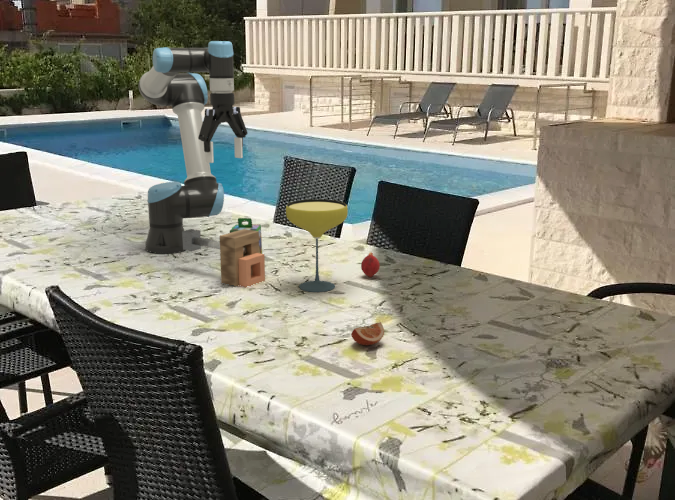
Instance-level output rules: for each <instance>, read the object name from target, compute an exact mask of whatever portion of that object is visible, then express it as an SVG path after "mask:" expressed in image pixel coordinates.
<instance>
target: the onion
mask: <svg viewBox="0 0 675 500" xmlns="http://www.w3.org/2000/svg"><path fill="white" fill-rule="evenodd" d="M373 253H374V252H372V251H369V253H368V255H367V256H365V257H364V258H363V259H362V261H361V265H360V268H361V271H362V273H363V274H364V275H366V276H367V277H368V278H372V277H374V276H375V275H376V274H378V272H379V270H380V266H381V265H380V260H378V258H377V257H376V256H375V255H374V254H373Z"/></svg>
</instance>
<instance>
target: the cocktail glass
mask: <svg viewBox="0 0 675 500" xmlns="http://www.w3.org/2000/svg"><path fill="white" fill-rule="evenodd" d="M348 213H349V211H348V205H347V204H346V203H345V202H343V201H339V200H333V199H321V198H320V199H318V198H317V199H315V198H313V199H303V200H295V201H291V202H289V203H287V204H286V207H285V215H286V219H287V220H288V221H289V222H290V223H292V224H293V225H295V226H296V227H298V228H301V229H302V230H304V231H306V232H308V233H309V234H310V235H311V237H312V239H313V238H314V239H315V275H314V276H315V278H314V280H308V281H304V282H301V283H300V284H299V286H298V287H299V290H302V291H305V292H309V293H323V292H324V293H325V292H330V291H332V290H334V289H336V284H335V283H333V282H331V281H326V280H321V279H320V275H319V272H320V271H319V239H321V238H322V237H323V235H324V234H325V233H326V232H328V231H329V230H331V229H333V228H336V227H338V226H339V225H340V224H342V223H343V222H344V221H345V220H346V219H347V218H348Z"/></svg>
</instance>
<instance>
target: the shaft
mask: <svg viewBox="0 0 675 500" xmlns="http://www.w3.org/2000/svg"><path fill="white" fill-rule="evenodd" d="M182 238H183V250H185V251H189V252H195V251H198V250H201V249H202V247H204V248H209V249H213V250H214V249H215V250H219V251H220V240H214V239H209V238H204V237H201V230H198V229H194V228H190V229H185V230H184V231H182ZM246 251H247V248H246V246H243V254H245V253H246Z"/></svg>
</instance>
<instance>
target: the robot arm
mask: <svg viewBox="0 0 675 500" xmlns="http://www.w3.org/2000/svg"><path fill="white" fill-rule="evenodd" d="M233 48H234V47H233V44H232V42H231V41H226V40H223V41H221V40H220V41H219V40H211V41H209V42H208V44H207V47H168V46H165V47H157V48H155V49H153V54H152V65H153V66H152V67H151V68H150V69H149V71H147V72H144V74H142V75H141V77H140V79H139V80H138V90H139V93H140V95H141V96H142V98H144V100H146V101H147V102H149V103H150V104H153V105H155V106H160V107H171V109H172V112H173V113H174V114H175V115H176V116H177V120H178V126H179V132H180V138H181V139H180V140H181V145H182V152H183V157H184V164H185V165H184V166H185V171H186V176H187V177H186V178H185V180H184V182H183V185H182V184H181V182H179V181H167V182H161V183H157V184H154V185H152V186H150V187H149V188H148V189H147V200H146V201H147V206H148V207H147V209H148V225H149V226H148V227H149V228H148V229H149V230H148V234H147V236H146V241H145V251H146V250H148V251H151V252H156V253H155V254H160V253H166V254H175V253H174V252H177V253H180V252H179V251H181V252H184V251H183V238H182V231H185V228H184V223H183V222H184V219H192V218H193V219H194V218H204V217H205V218H209V217H212V216H218V215H219V214H221V212H222V211H223V207H224V202H225V192H224V191H225V190H224V187H223V183H221V182H218V181H217V177H216V176H215V175H213V173H211V166H210V165H211V164H213V163H214V159H215V158H214V142H213V141H212V140H213V137H214V135H215V134H216V131H217V129H218V127H219V125H221V124H222V123H224V124H225V123H227V124H228V126H229V128H230V130H232V132H233V134H234V135H235V137H234V138H233V139H234V140H233V141H234V142H233V144H234V158H235V159H236V158H237V159H243V148H244V138H246V136H247V135H248V131H247V128H246V124H245V122H244V119H243V117H242V113H241V107H240V106H234V105H235V93H234V91H235V85H234V84H235V83H234V82H235V81H234V78H235V77H234V75H235V74H234V72H235V69H234V49H233ZM199 73H209V79H208V80H209V91H210V92H211V93H210V94H209V95H210V96H208V93H209V92H208V88H207V83H206V82H205V79H204V78H203V76H202V75H200V74H199ZM209 97H210V99H209ZM208 99H209V101H210V102H209V103H210V105H211V106H212V108H205V105H207V103H208ZM203 111H204V117H203V116H202V112H203ZM148 251H147V252H148ZM151 252H150V253H151Z"/></svg>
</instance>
